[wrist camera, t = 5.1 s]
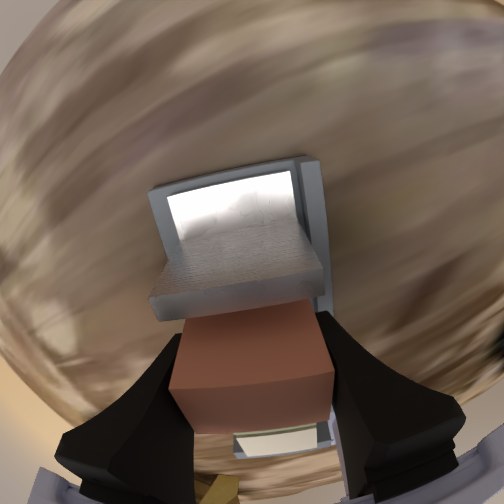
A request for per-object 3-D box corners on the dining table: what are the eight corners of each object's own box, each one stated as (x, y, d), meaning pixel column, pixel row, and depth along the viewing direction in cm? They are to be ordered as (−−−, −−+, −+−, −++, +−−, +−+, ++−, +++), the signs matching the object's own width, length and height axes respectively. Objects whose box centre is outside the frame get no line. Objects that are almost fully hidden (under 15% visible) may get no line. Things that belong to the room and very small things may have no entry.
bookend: (297, 233, 13) (325, 295, 8) (188, 254, 14) (158, 321, 9) (287, 169, 12) (315, 196, 7) (170, 194, 13) (123, 235, 8)
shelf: (327, 388, 20) (341, 448, 15) (232, 402, 21) (230, 463, 15) (306, 155, 13) (347, 172, 7) (153, 188, 14) (97, 225, 8)
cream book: (305, 385, 18) (317, 447, 13) (247, 393, 19) (247, 456, 14) (303, 359, 17) (316, 427, 12) (238, 369, 18) (235, 438, 13)
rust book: (304, 329, 13) (329, 419, 8) (207, 342, 14) (196, 433, 9) (302, 279, 12) (334, 370, 7) (192, 294, 12) (168, 389, 7)
